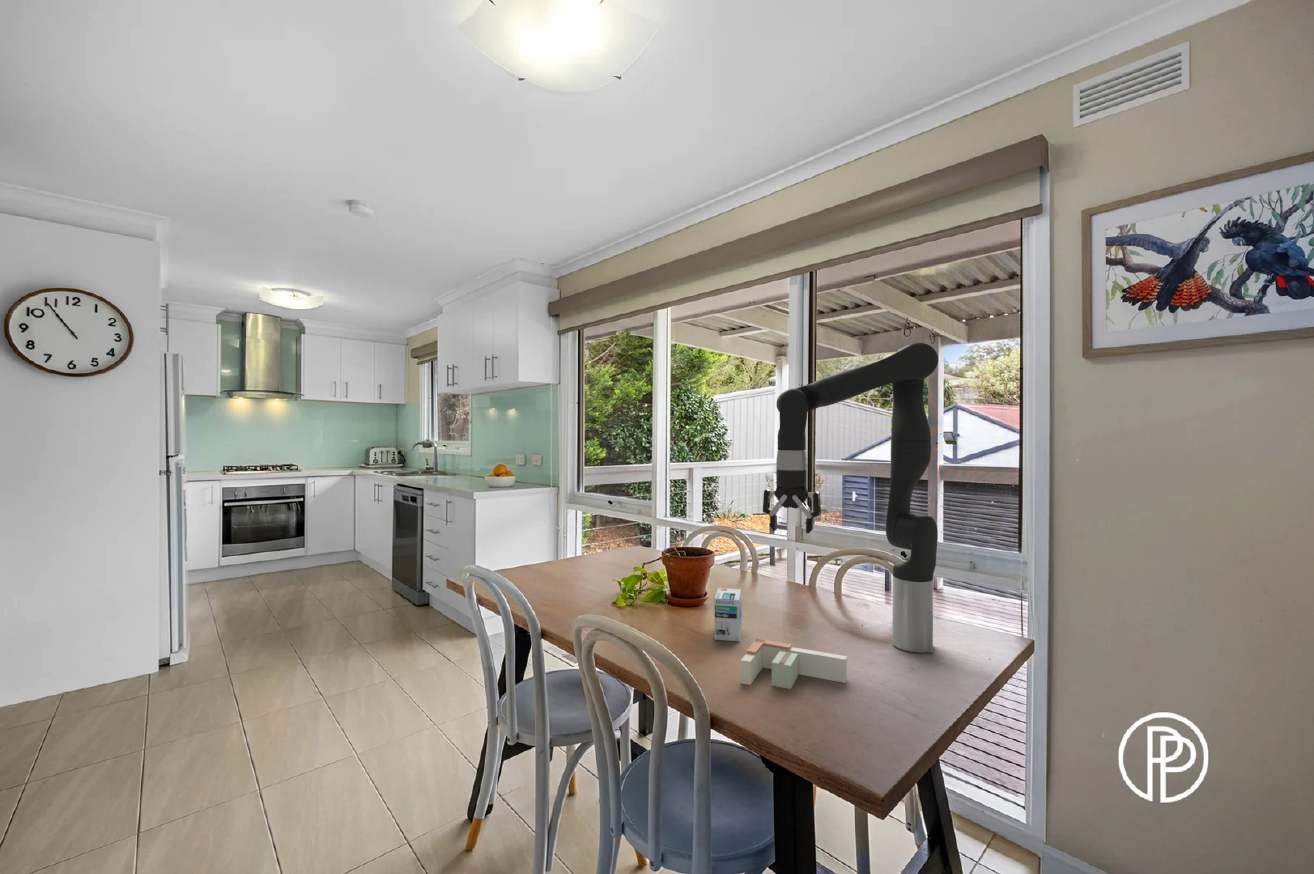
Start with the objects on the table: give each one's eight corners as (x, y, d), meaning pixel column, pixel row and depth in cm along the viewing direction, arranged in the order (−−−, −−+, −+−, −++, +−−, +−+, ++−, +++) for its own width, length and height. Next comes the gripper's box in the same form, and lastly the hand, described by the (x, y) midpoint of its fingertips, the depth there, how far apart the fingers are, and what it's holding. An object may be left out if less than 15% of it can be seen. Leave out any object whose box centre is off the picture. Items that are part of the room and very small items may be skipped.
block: (790, 689, 119) (790, 664, 119) (771, 685, 121) (771, 661, 121) (797, 676, 125) (797, 653, 125) (779, 673, 127) (779, 650, 127)
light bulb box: (740, 642, 145) (740, 600, 145) (713, 640, 146) (713, 598, 146) (742, 628, 156) (742, 588, 155) (717, 626, 157) (717, 587, 157)
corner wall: (847, 679, 124) (847, 653, 123) (838, 703, 113) (838, 674, 113) (756, 662, 132) (756, 638, 132) (740, 683, 122) (740, 656, 121)
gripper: (760, 468, 145) (759, 531, 145) (817, 469, 139) (817, 536, 139) (767, 466, 152) (767, 527, 152) (822, 467, 145) (822, 531, 146)
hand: (791, 531), depth 145 cm, fingers open, 8 cm apart
